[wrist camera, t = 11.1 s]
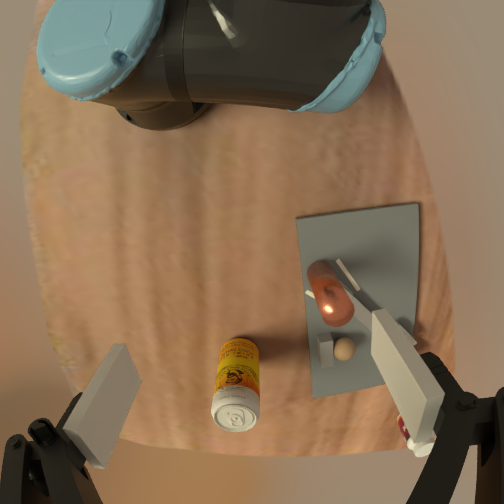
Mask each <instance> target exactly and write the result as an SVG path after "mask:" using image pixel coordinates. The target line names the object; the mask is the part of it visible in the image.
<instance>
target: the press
mask: <svg viewBox="0 0 504 504" xmlns="http://www.w3.org/2000/svg"><path fill="white" fill-rule="evenodd" d="M296 226H297V234H298V243H299V251H300V260H301V269H302V279H303V288H304V298H305V309H306V319H307V331H308V342H309V355H310V368H311V382H312V395H313V399H314V398H320V397H326V396H331V395H337V394H342V393H347V392H351V391H356V390H361V389H365V388H370V387H374V386H378V385H382V384H386V383H385V381H384V379H383V377H382V375H381V373H380V371H379V369H378V367H377V365H376V363H375V361H374V359H373V357H372V355H371V341H372V332H371V331H370V330H369V329H368V328H367V327H366V326H365V325H364V324H363V323H361V322H360V321H359V320H358V319H357V318H356V317H355V316H354V315H353V317H352V319H351V320H350V321H349V322H348V323H347V324H345V325H343V326H340V327H331V326H329V325H327V324H326V323H325V322H324V321H323V318H322V316H321V313H320V310H319V308H318V305H317V302H316V300H315V297H314V294H313V292H312V289H311V287H310V284H309V281H308V279H307V275H306V273H307V269H308V267H309V266H310V265H311V264H312V263H314V262H316V261H324V262H327V263H328V264H329V265H330V266H331V268H332V270H333V271H334V273H335V275H336V276H337V278H338V280H339V281H340V283H341V284H342V285H343V286H344V287H345V288H347V289H348V290H349V291H350V292H351V293H352V294H353V295H354V296H355V297H356V298H357V299H358V300H359V301H360V302H361V303H363V304H364V305H365V306H366V307H367V308H368V309H369V310H370V311H371V312H372V311H375V310H380V309H385V308H386V309H387V310H388V312H389V313H390V314H391V316H392V317H393V319H394V320H395V321H396V320H397V321H398V322H399V323H400V324H401V325H402V326H403V327H404V328H405V329H406V330H407V331H408V333H409V334H410V335H411V336H412V337H413V332H414V323H415V312H416V300H417V286H418V264H419V207H418V203H415V202H413V203H405V204H396V205H388V206H380V207H372V208H364V209H356V210H348V211H341V212H333V213H326V214H318V215H311V216H304V217H297V218H296Z"/></svg>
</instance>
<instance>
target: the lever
mask: <svg viewBox="0 0 504 504" xmlns="http://www.w3.org/2000/svg"><path fill="white" fill-rule="evenodd" d="M306 275H307V279H308V281H309V284H310V287H311V289H312V292H313V294H314V297H315V300H316V302H317V305H318V308H319V310H320V313H321V316H322V318H323V321H324V322H325V323H326V324H327V325H329V326H331V327H340V326H343V325H345V324H347V323H348V322H349V321H350V320H351V319H352V317H353V315H354V316H355V317H356V318H357V319H358V320H359V321H360V322H361V323H363V324H364V325H365V326H366V327H367V328H368V329H369V330H370V331H371V332H372V312H371V311H370V310H369V309H368V308H367V307H366V306H365V305H364V304H363V303H361V302H360V301H359V300H358V299H357V298H356V297H355V296H354V295H353V294H352V293H351V292H350V291H349V290H348V289H347V288H345V287H344V286H343V285H342V284H341V283H340V281H339V280H338V278H337V276H336V275H335V273H334V271H333V270H332V268H331V266H330V265H329V264H328V263H327V262H324V261H316V262H314V263H312V264H311V265H310V266H309V267H308V269H307V273H306ZM396 323H397V324H398V325H399V327H400V328H401V330H402V331H403V332H404V334H405V335H406V337H407V338H408V339H409V341H410V342H411V344H412V345H413V346H414V345H416V344H417V341H416V340H415V339H414V338H413V337H412V336H411V335H410V334H409V333H408V331H407V330H406V329H405V328H404V327H403V326H402V325H401V324H400V323H399V322H398V321H397V320H396Z"/></svg>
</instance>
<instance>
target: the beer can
mask: <svg viewBox="0 0 504 504" xmlns="http://www.w3.org/2000/svg"><path fill="white" fill-rule="evenodd" d="M211 413H212V416H213V418H214V421H215V423H216V424H217V425H218V426H219V427H220V428H222V429H224V430H227V431H231V432H242V431H246V430H249V429H251V428H252V427H253V426H254V425H255V424H256V421H257V420H258V418H259V415H260V389H259V351H258V348H257V347H256V345H255V344H254V343H252V342H251V341H249V340H247V339H242V338H236V339H231V340H229V341H227V342H226V343H225V344H224V345H223V346H222V348H221V351H220V357H219V364H218V370H217V376H216V383H215V389H214V395H213V402H212V408H211Z"/></svg>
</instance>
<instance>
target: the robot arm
mask: <svg viewBox="0 0 504 504" xmlns="http://www.w3.org/2000/svg"><path fill="white" fill-rule="evenodd" d="M385 33H386V16H385V11H384V8H383V6H382V4H381V3H380V1H379V0H55V2H54V3H53V5H52V6H51V8H50V9H49V11H48V13H47V15H46V17H45V19H44V21H43V24H42V26H41V29H40V33H39V37H38V41H37V63H38V67H39V70H40V73H41V75H43V78H44V79H45V80H46V83H47V84H48V85H49V86H50V87H51V88H53V89H54V90H56V91H58V92H60V93H63V94H65V95H67V96H68V97H71V98H72V99H74V100H79V101H92V102H97V103H101V104H105V105H109V106H114V107H115V108H116V110H117V111H118V112H119V114H120V115H121V116H122V117H123V118H124V119H126V120H127V121H128V122H130V123H132V124H134V125H136V126H138V127H141V128H144V129H150V130H157V131H165V130H172V129H176V128H179V127H182V126H185V125H187V124H189V123H191V122H192V121H194V120H195V119H197V118H198V117H199V116H201V115H202V114H203V113H204V112H205V111H206V110H207V109H208V108H209V106H210V105H211V104H212V103H223V104H237V105H249V106H260V107H269V108H278V109H286V110H288V111H290V112H303V111H310V112H319V113H336V112H340V111H343V110H345V109H346V108H348V107H349V106H351V105H352V104H353V103H354V102H355V101H356V100H357V99H358V98H359V97H360V96H361V95H362V93H363V92H364V90H365V89H366V87H367V86H368V84H369V82H370V81H371V79H372V77H373V75H374V73H375V71H376V68H377V66H378V63H379V60H380V57H381V54H382V50H383V48H382V46H381V41H382V39H383V38H384V36H385ZM371 355H372V357H373V359H374V361H375V363H376V365H377V367H378V369H379V371H380V373H381V375H382V377H383V379H384V381H385V383H386V385H387V387H388V389H389V391H390V393H391V395H392V398H393V400H394V402H395V404H396V406H397V408H398V410H399V412H400V415H401V417H402V419H403V421H404V423H405V425H406V428H407V430H408V432H409V434H410V436H411V439H412V441H413V443H414V444H415V443H418V442H421V441H424V440H427V439H430V437H431V435H432V432H433V430H434V432H435V434H436V436H437V438H436V440H435V443H434V445H433V448H432V450H431V452H430V455H429V457H428V459H427V462H426V464H425V466H424V468H423V471H422V473H421V475H420V477H419V479H418V481H417V483H416V485H415V487H414V489H413V491H412V493H411V495H410V497H409V499H408V501H407V503H406V504H449V502H450V499H451V497H452V495H453V492H454V489H455V487H456V484H457V482H458V479H459V476H460V473H461V471H462V467H463V465H464V462H465V458H466V455H467V452H468V449H469V446H470V445H477V446H478V448H477V450H478V454H477V481H476V494H475V504H504V387H502V388H501V389H499V391H498V392H497V394H496V396H495V397H489V398H477V396H475V395H474V394H472V393H470V392H464V391H463V390H462V388H461V387H460V386H459V385H458V383H457V381H456V380H455V379H454V377H453V376H452V374H451V373H450V372H449V371H448V369H447V368H446V366H444V364H443V362H442V361H441V360H440V358H439V357H438V356H436V355H435V354H433V353H431V352H427V353H424V354H420V355H419V354H418V352H417V351H416V349H415V348H414V347H413V345H412V344H411V342H410V341H409V339H408V338H407V337H406V335H405V334H404V332H403V331H402V330H401V328H400V327H399V325H398V324H397V323H396V321H395V320H394V319H393V317H392V316H391V314H390V313H389V312H388V310H387V309H386V308H385V309H380V310H375V311H372V341H371ZM141 382H142V381H141V379H140V376H139V374H138V372H137V370H136V368H135V365H134V363H133V361H132V358H131V356H130V354H129V351H128V349H127V346H126V344H125V343H123V344H113V346H112V347H111V349H110V351H109V352H108V354H107V355H106V357H105V358H104V360H103V362H102V363H101V365H100V366H99V368H98V370H97V371H96V373H95V374H94V376H93V378H92V379H91V381H90V383H89V384H88V386H87V387H86V389H85V391H84V392H80V393H79V394H78V395H76V396H75V397H74V398H73V399H72V401H71V403H70V404H69V407H68V408H67V409H66V412H65V413H64V414H63V416H62V418H61V419H60V421H59V423H58V424H57V426H56V428H54V426H53V425H52V423H51V422H50V421H49V420H48V419H46V418H40V419H37V420H35V421H33V422H32V423H31V424H30V426H29V428H28V433H29V435H30V436H31V437H32V438H33V440H34V441H27V440H26V438H25V437H24V436H23V435H21V434H16V435H13V436H12V437H10V438H9V439H8V441H7V443H6V446H5V452H4V459H3V465H2V472H1V481H0V504H103V503H102V501H101V499H100V497H99V495H98V492H97V490H96V488H95V486H94V484H93V482H92V479H91V477H90V475H89V473H88V470H87V468H86V467H85V466H84V463H85V461H86V460H87V461H88V462H89V463H90V465H91V466H92V467H96V468H103V469H106V467H107V464H108V461H109V459H110V456H111V454H112V451H113V449H114V446H115V444H116V441H117V439H118V437H119V434H120V432H121V429H122V427H123V424H124V422H125V419H126V417H127V415H128V412H129V410H130V408H131V405H132V403H133V400H134V398H135V396H136V393H137V391H138V389H139V386H140V384H141Z"/></svg>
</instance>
